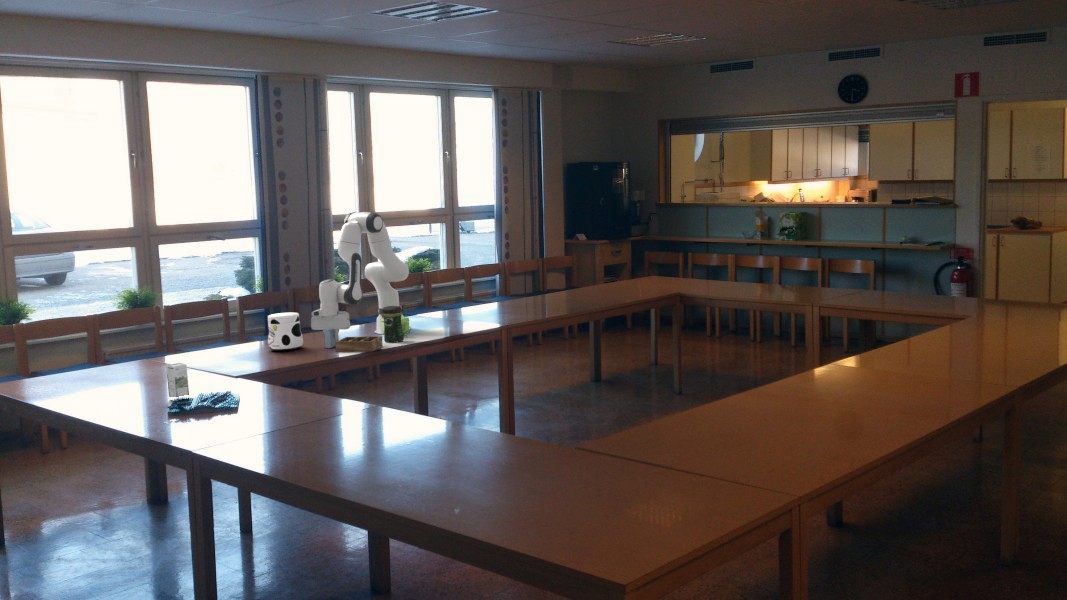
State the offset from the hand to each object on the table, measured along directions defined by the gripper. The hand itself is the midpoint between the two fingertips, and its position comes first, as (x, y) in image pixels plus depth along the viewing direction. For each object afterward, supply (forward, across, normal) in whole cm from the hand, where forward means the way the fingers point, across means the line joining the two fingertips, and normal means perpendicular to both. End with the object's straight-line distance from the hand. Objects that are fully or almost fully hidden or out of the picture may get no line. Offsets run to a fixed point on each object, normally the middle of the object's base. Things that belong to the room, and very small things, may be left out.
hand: (331, 338), depth 485 cm
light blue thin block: (+4, 0, 0) cm, 4 cm away
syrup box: (+4, +16, +113) cm, 114 cm away
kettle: (+5, -24, -28) cm, 37 cm away
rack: (+4, -18, +8) cm, 20 cm away
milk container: (+4, +22, +7) cm, 24 cm away
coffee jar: (+5, -29, -12) cm, 32 cm away
